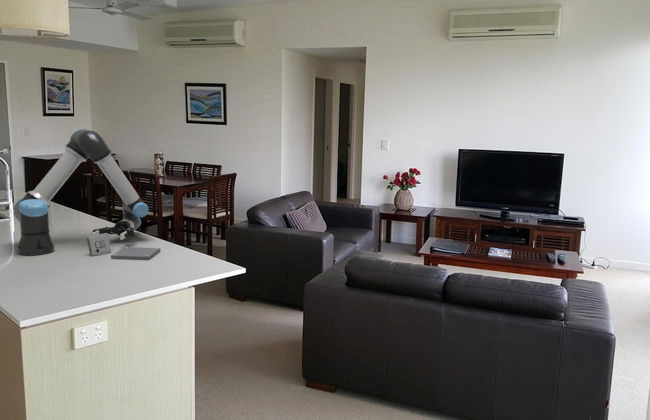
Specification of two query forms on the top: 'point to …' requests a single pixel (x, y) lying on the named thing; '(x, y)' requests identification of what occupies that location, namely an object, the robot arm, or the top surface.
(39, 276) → the top surface
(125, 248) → the mounting plate
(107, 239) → the electrical switch
